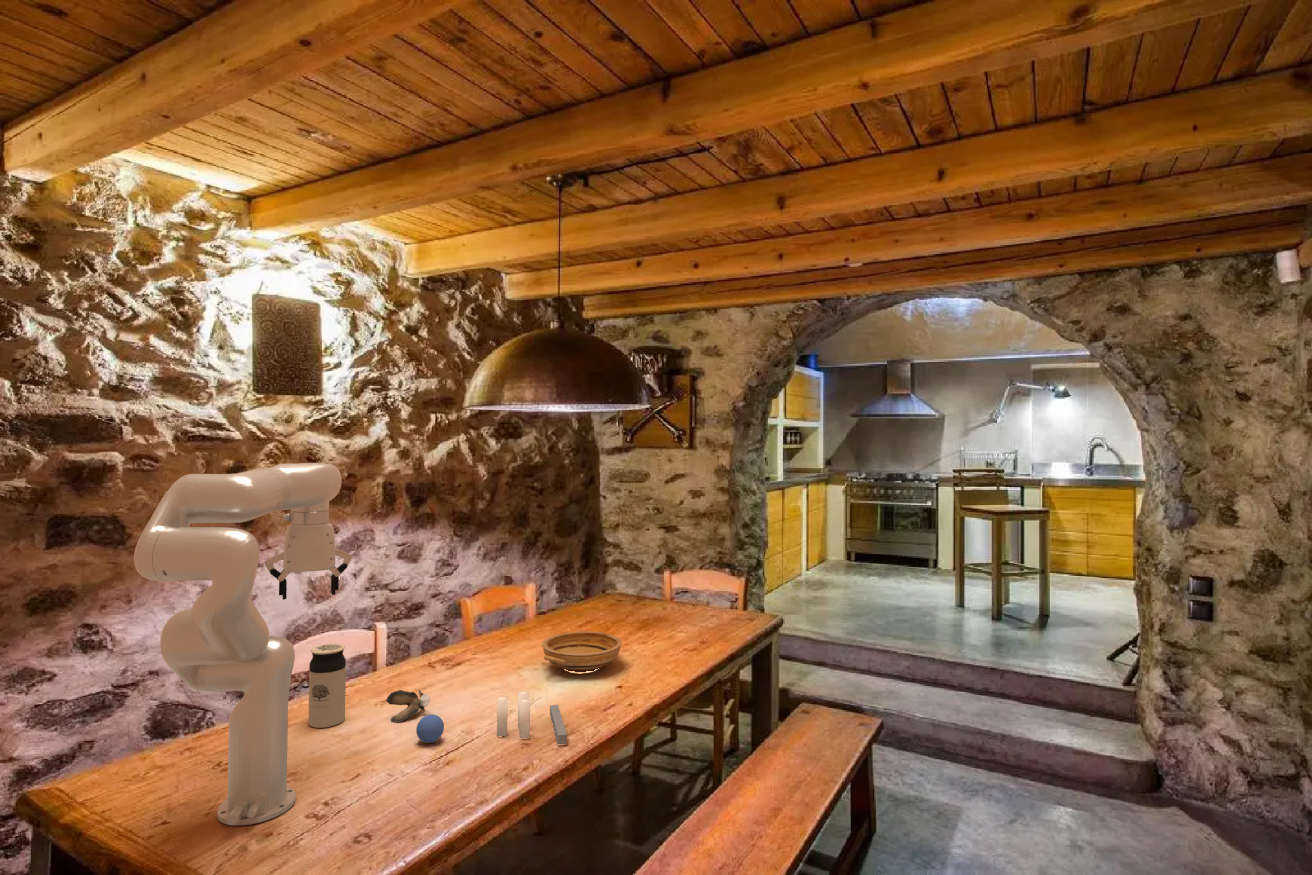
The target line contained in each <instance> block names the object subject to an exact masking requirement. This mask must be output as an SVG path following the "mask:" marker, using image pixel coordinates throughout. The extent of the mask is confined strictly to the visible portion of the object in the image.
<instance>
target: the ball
mask: <svg viewBox="0 0 1312 875" xmlns="http://www.w3.org/2000/svg"><path fill="white" fill-rule="evenodd" d="M444 730H445V723H444V720H443V718H441V717H440V716H438V715H437V714H427V715H425V716H423V717H421V719H420V720H419V721H418V722H417V725H416V730H415V732H416V736H417V738H418V739H419V740H420V741H421V742H422V743H426V744H432V743H435V742H436V741H438V740H439V739H440V738H442V735H443V734H444Z"/></svg>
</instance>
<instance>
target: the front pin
mask: <svg viewBox="0 0 1312 875" xmlns="http://www.w3.org/2000/svg"><path fill="white" fill-rule="evenodd" d="M508 700H509V697H508V696H500V697H497V699H496V705H497V706H496V737H497V736H505V737H507V736H508V719H509V718H508V716H509V715H508V710H509V709H508V708H509V707H508V706H509V705H508V704H509V703H508V702H509V701H508ZM506 735H507V736H506Z"/></svg>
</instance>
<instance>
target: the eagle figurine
mask: <svg viewBox="0 0 1312 875" xmlns="http://www.w3.org/2000/svg"><path fill="white" fill-rule="evenodd" d="M421 691H422V690H421V689H419V690H418V694H417V693H416V692H414V691H405V690H403V689H399V690H396V691H394V692H391V693H390V694H388V696H387V697H386V699H385V701H386V703H388V705H397V706H406V708H404V709H402V710H401V711H400V712H398V713H397V714H396V715H394V716H392V717H391V719H390V721H391V723H402V722H404V721H405V720H408V718H410V717H411V716H413V715H416V714H417V713H419V712H420V710H421V711H422V712H423V711H426V708H425V707H427V706H428V705H429V704H430V699H431V698H430V696H429V694H427V693H424V692H421Z"/></svg>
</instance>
